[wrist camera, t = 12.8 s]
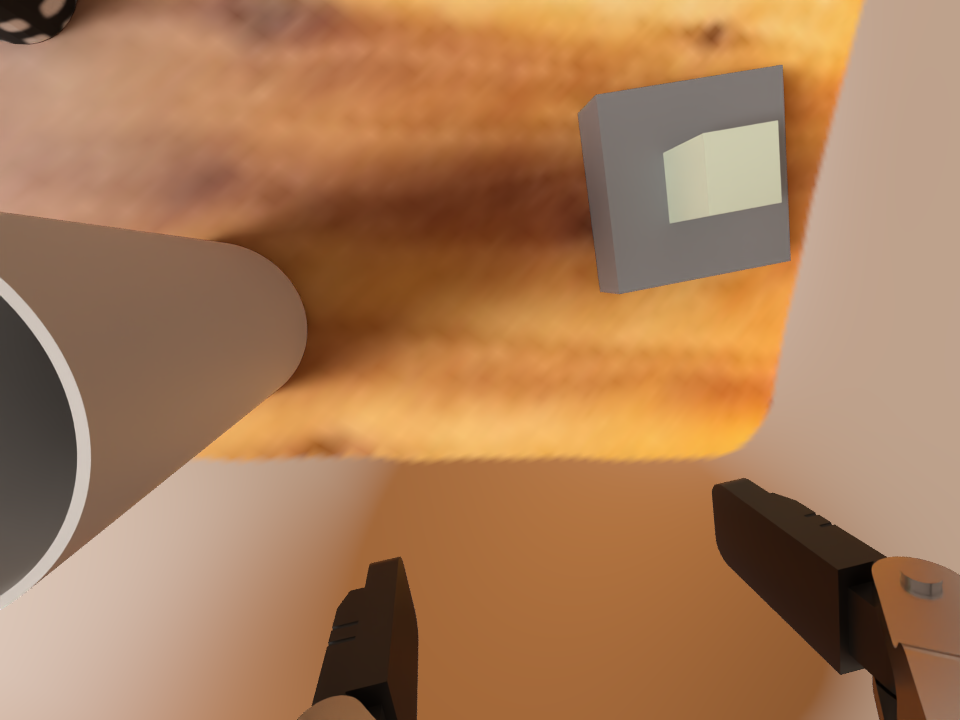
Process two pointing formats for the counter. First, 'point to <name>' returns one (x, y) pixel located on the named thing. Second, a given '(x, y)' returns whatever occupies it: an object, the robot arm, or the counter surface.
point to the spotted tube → (33, 19)
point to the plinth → (642, 185)
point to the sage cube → (723, 172)
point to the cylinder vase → (121, 372)
